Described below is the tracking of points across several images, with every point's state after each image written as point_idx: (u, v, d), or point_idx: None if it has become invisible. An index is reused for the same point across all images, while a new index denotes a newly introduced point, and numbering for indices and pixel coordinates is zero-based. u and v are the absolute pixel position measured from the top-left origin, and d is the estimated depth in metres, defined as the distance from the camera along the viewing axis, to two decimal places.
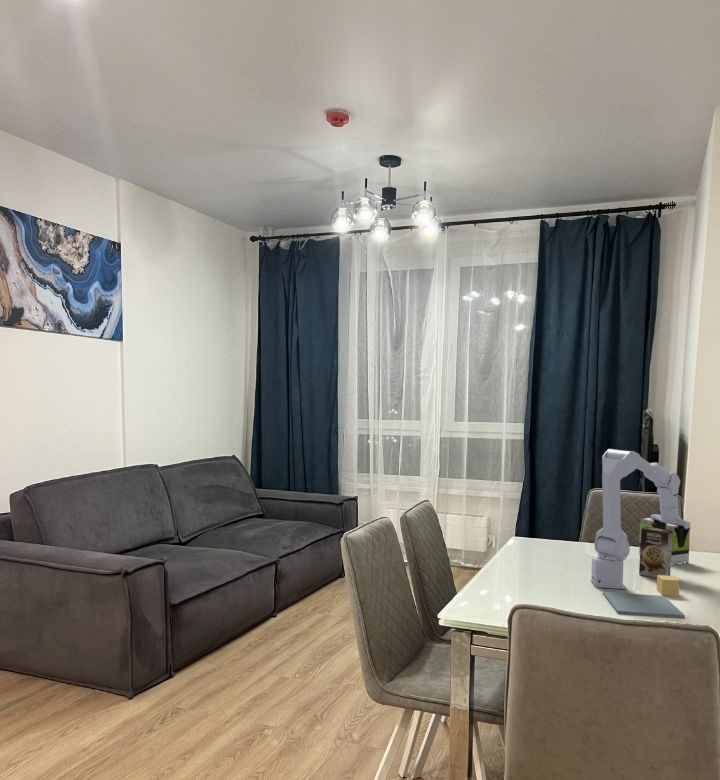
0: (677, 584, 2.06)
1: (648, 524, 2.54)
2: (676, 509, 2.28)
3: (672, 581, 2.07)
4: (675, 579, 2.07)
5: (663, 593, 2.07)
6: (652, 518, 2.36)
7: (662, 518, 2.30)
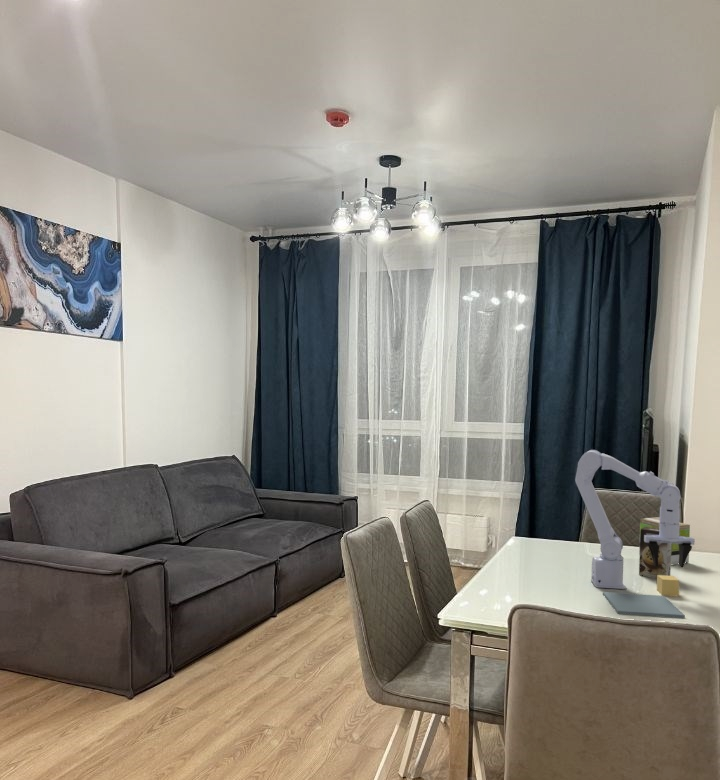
0: (677, 584, 2.06)
1: (648, 524, 2.54)
2: (660, 524, 2.09)
3: (672, 581, 2.07)
4: (675, 579, 2.07)
5: (663, 593, 2.07)
6: None
7: None
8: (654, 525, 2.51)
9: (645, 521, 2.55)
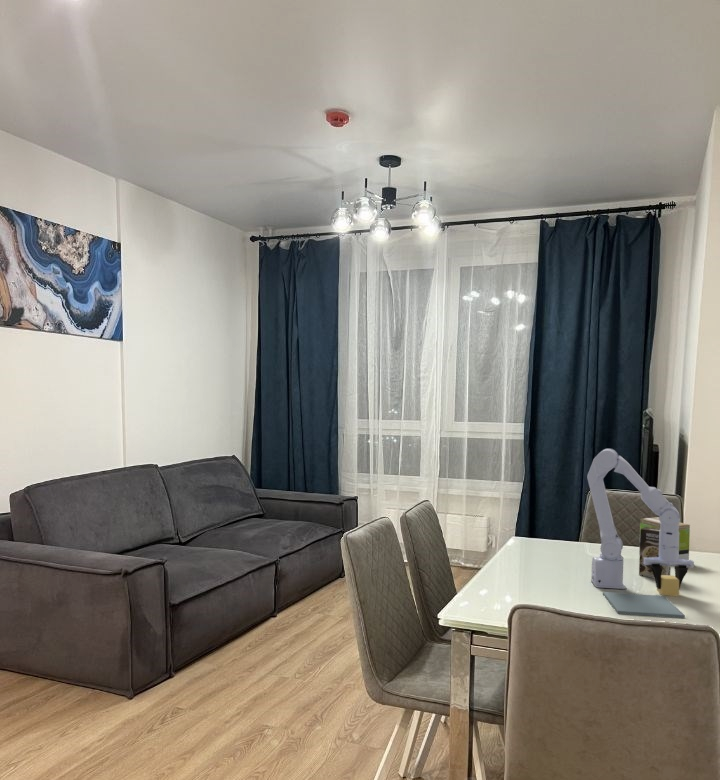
0: (677, 584, 2.06)
1: (648, 524, 2.54)
2: (659, 547, 2.09)
3: (672, 581, 2.07)
4: (675, 579, 2.07)
5: (663, 593, 2.07)
6: None
7: None
8: (654, 525, 2.51)
9: (645, 521, 2.55)
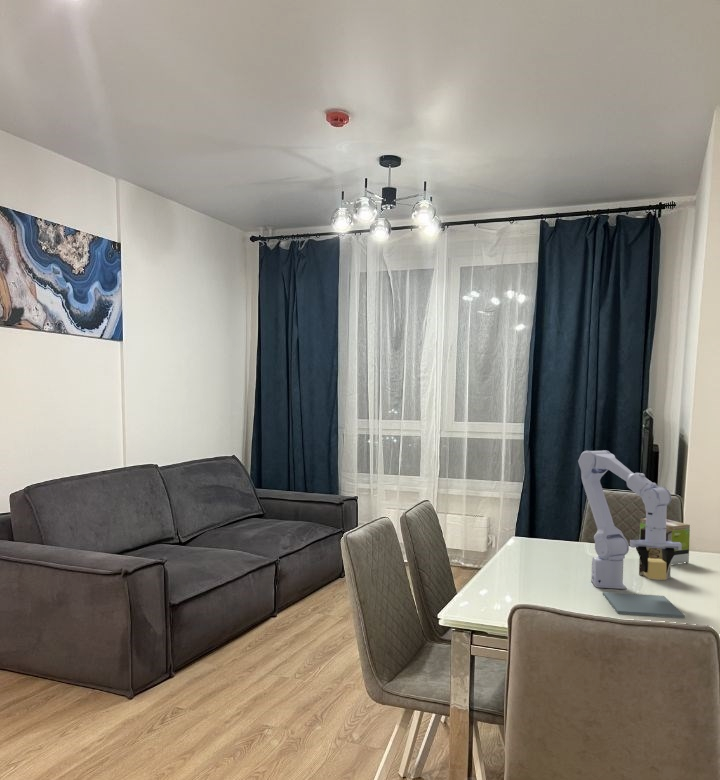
0: (664, 567, 1.99)
1: None
2: (646, 529, 2.02)
3: (659, 564, 1.99)
4: (662, 562, 2.00)
5: (650, 576, 2.00)
6: None
7: None
8: None
9: (645, 521, 2.55)
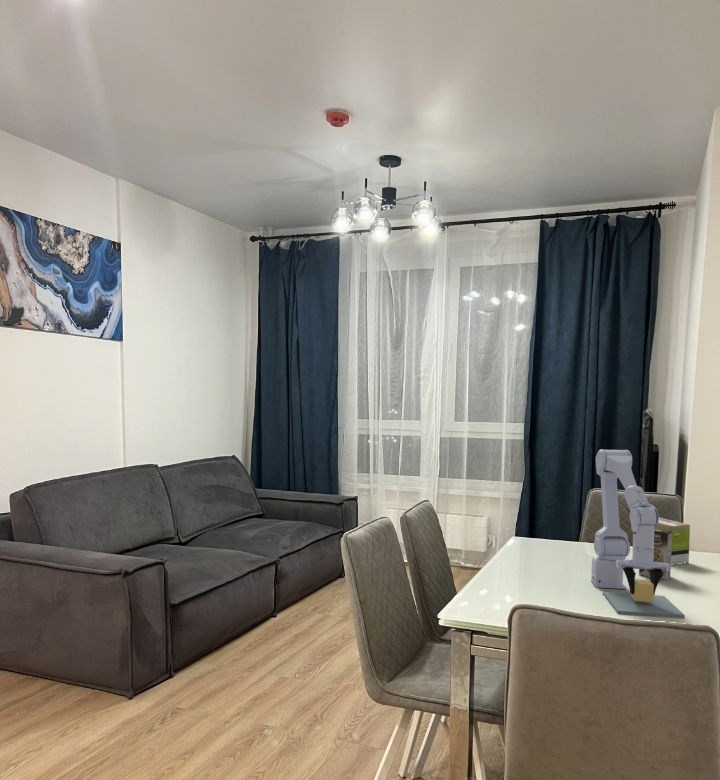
0: (651, 589, 1.93)
1: None
2: (633, 549, 1.96)
3: (646, 585, 1.93)
4: (649, 583, 1.94)
5: (637, 598, 1.94)
6: None
7: None
8: None
9: None
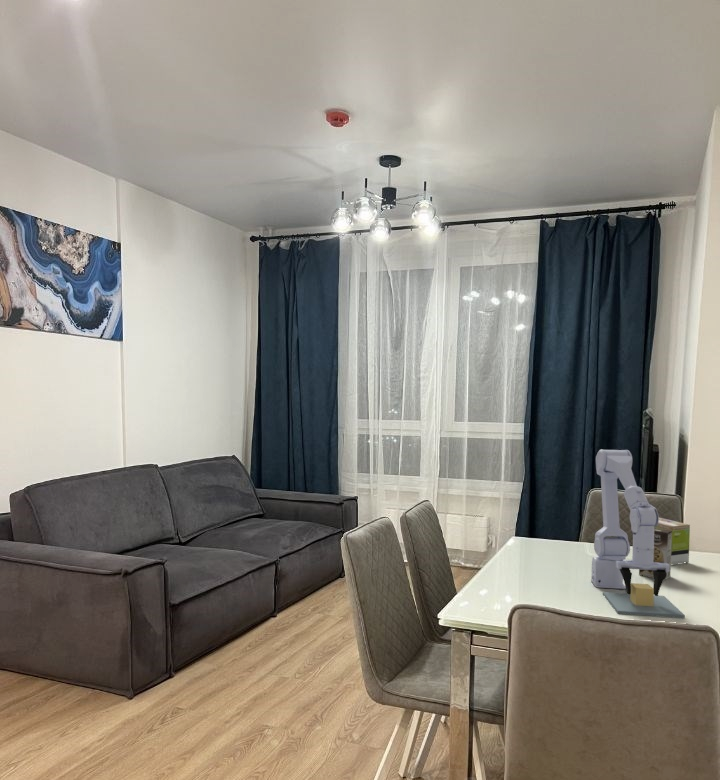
0: (652, 593, 1.93)
1: None
2: (633, 549, 1.96)
3: (646, 590, 1.93)
4: (649, 587, 1.94)
5: (637, 602, 1.93)
6: None
7: None
8: None
9: None
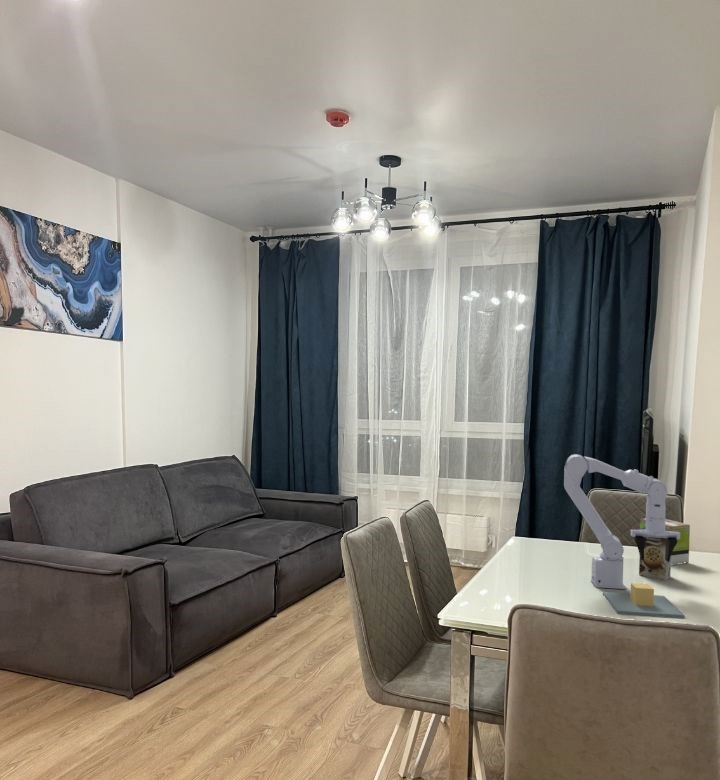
0: (652, 593, 1.93)
1: None
2: (646, 519, 2.13)
3: (646, 590, 1.93)
4: (649, 587, 1.94)
5: (637, 602, 1.93)
6: None
7: None
8: None
9: (645, 521, 2.55)
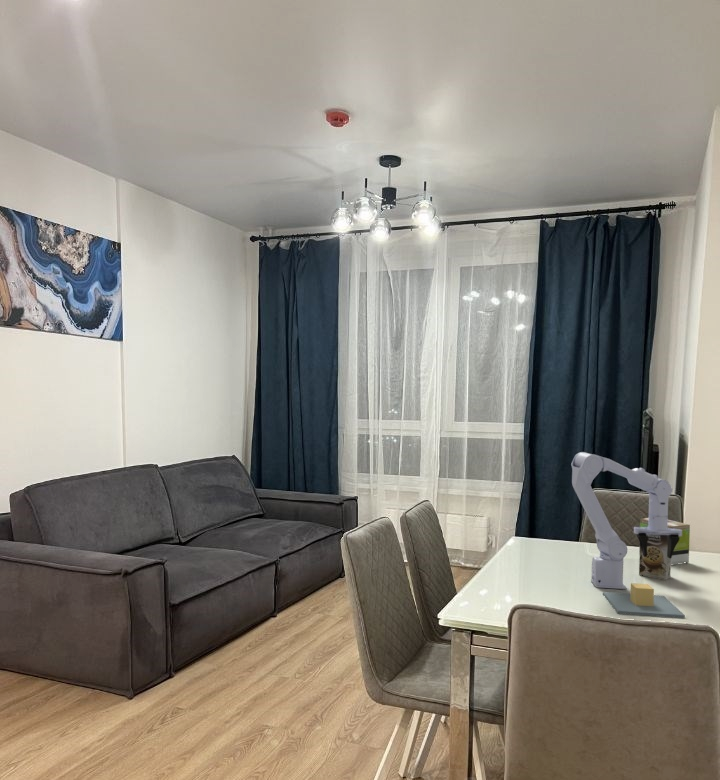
0: (652, 593, 1.93)
1: None
2: (649, 517, 2.17)
3: (646, 590, 1.93)
4: (649, 587, 1.94)
5: (637, 602, 1.93)
6: None
7: None
8: None
9: (645, 521, 2.55)
